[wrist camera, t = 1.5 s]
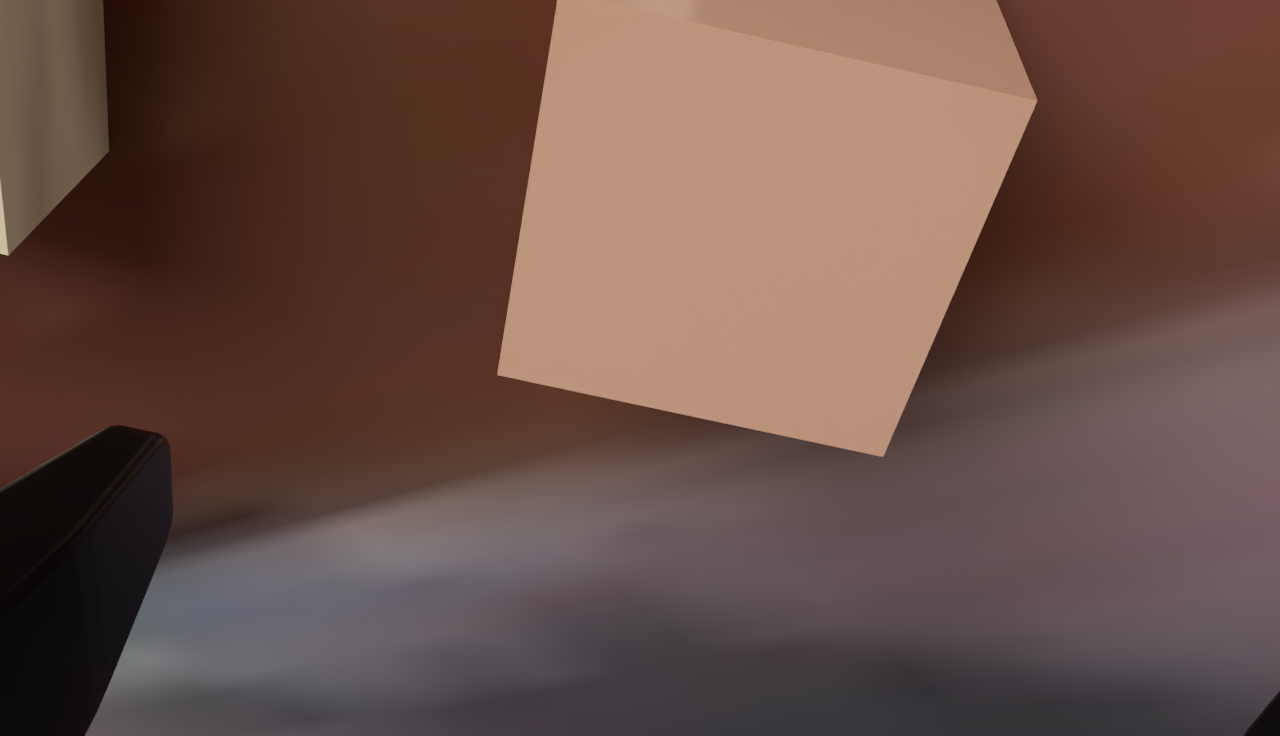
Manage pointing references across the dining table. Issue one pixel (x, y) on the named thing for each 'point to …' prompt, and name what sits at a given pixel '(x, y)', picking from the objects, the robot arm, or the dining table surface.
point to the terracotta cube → (759, 204)
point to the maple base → (48, 107)
